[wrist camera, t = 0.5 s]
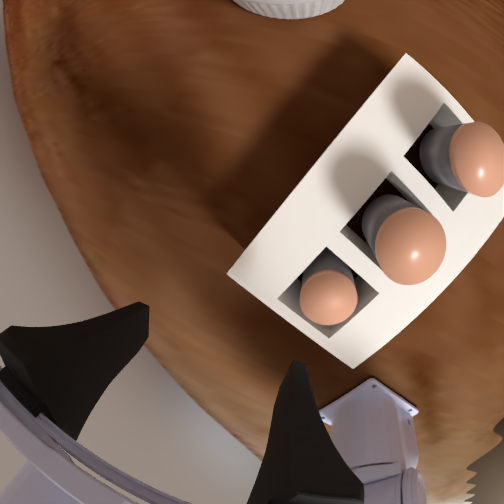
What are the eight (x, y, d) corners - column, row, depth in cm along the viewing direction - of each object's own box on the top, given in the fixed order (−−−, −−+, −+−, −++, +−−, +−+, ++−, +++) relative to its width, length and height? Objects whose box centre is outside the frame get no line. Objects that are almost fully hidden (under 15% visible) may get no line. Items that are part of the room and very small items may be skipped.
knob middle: (425, 221, 14) (458, 245, 10) (388, 262, 15) (409, 298, 11) (387, 182, 14) (413, 193, 9) (349, 226, 15) (361, 252, 11)
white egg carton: (487, 181, 14) (524, 191, 10) (349, 332, 21) (353, 373, 17) (387, 73, 14) (408, 50, 9) (245, 250, 21) (223, 277, 16)
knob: (473, 158, 12) (516, 163, 7) (445, 196, 13) (484, 212, 9) (438, 116, 12) (476, 106, 7) (408, 156, 13) (442, 157, 9)
